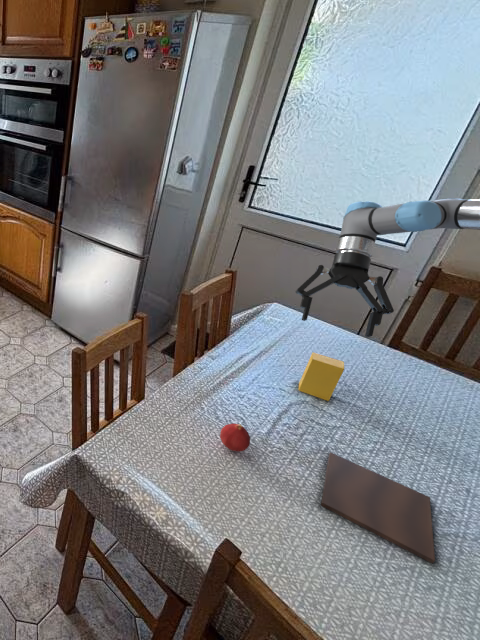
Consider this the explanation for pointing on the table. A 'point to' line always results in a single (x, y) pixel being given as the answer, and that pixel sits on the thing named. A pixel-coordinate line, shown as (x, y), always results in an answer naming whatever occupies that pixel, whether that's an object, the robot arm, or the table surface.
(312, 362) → the block
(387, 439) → the table surface
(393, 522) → the board
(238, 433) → the red round piece
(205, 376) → the table surface
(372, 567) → the table surface
